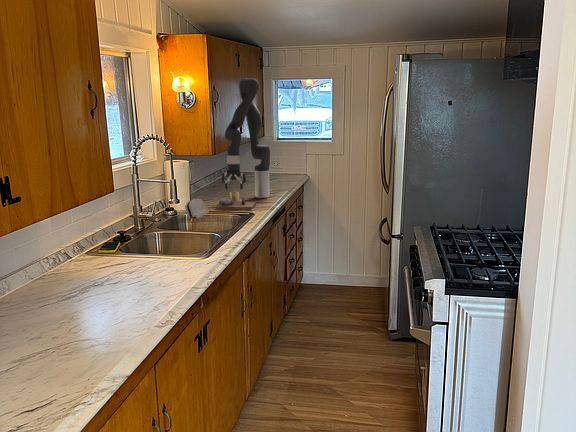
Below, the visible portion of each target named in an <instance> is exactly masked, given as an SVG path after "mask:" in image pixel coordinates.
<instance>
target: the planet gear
mask: <svg viewBox="0 0 576 432" xmlns="http://www.w3.org/2000/svg"><path fill="white" fill-rule="evenodd" d="M229 199H232V200H234V202H242V198H240V192H239V191H231V192H229Z"/></svg>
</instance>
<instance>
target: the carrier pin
mask: <svg viewBox="0 0 576 432" xmlns="http://www.w3.org/2000/svg"><path fill="white" fill-rule="evenodd" d="M245 199H246V197H245V196H244V197H243V196H242V197H241V200H242V205H245V202H246V200H245Z"/></svg>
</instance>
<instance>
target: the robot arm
mask: <svg viewBox="0 0 576 432" xmlns="http://www.w3.org/2000/svg"><path fill="white" fill-rule="evenodd" d="M238 88H239V93H240V97H241V100H242V101H241V102H240V104H239V105H238V106H237V107H236V108H235V110H234V113H233V116H232V119H231V121H230V123H229V124H228V126H227V127H226V129H225V132H224V138H225V140H226V141H228V142H230V144H229V145H227V153H226V154H227V157H226V158H227V159H226V163H227V169H226V170H227V171H226V172H225V171H223V172H222V174H221V183H224V185H225V187H224V189H225V190H229V181H233V180H235V181H238V182H239V183H240V184H239V189H240V191H241V190H243V189H244V183H246V182H247V179H246V178H247V177H246V176H247V175H246V172H241V161H240V160H241V159H240V158H241V157H240V146H241V142H242V133H241V131H240V130H239V128H242V127H243V124H244V123H245V119H246V124H247V129H248V134H249V141H250V142H249V143H250V151H251V156H252V158H253V159H254V160H260V163H259V164H256V165H255V166H254V187H255V188H254V191H255V192H254V193H255V198H259V199H261V198H262V199H263V198H265V199H266V198H270V197H271V196H270V195H271V194H270V192H271V191H270V165H271V149H270V147H269V146H268V145H266V144H265V145H264V144H259V135H260V133H261V130H262V127H263V121H262V115H261V112H260V110H259V109H258V107H257V105H256V103H255V102H254V100H255V97H256V96H257V94H258V93H259V92H258V91H259V89H260V83H259V81H258V79H256V78H252V77H251V78H249V77H248V78H245V77H244V78H242V79H240V80H239V85H238ZM226 176H227V179H226ZM241 177H242V178H241ZM225 179H226V180H225Z"/></svg>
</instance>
